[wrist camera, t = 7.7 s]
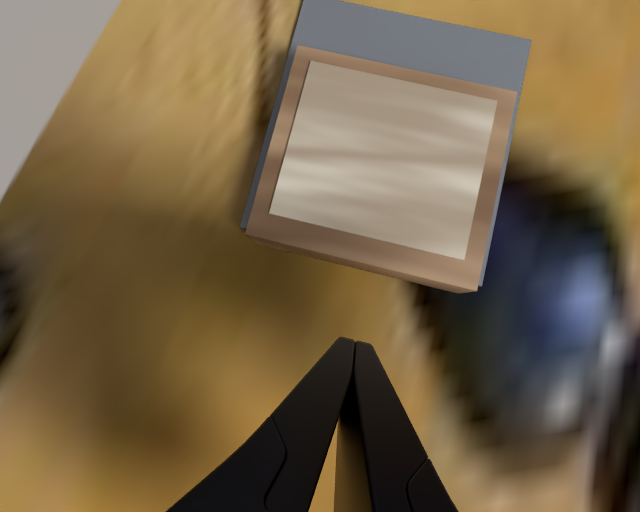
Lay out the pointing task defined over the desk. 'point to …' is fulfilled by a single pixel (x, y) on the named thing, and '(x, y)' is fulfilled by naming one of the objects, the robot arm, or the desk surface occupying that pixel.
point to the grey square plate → (404, 59)
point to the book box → (383, 169)
